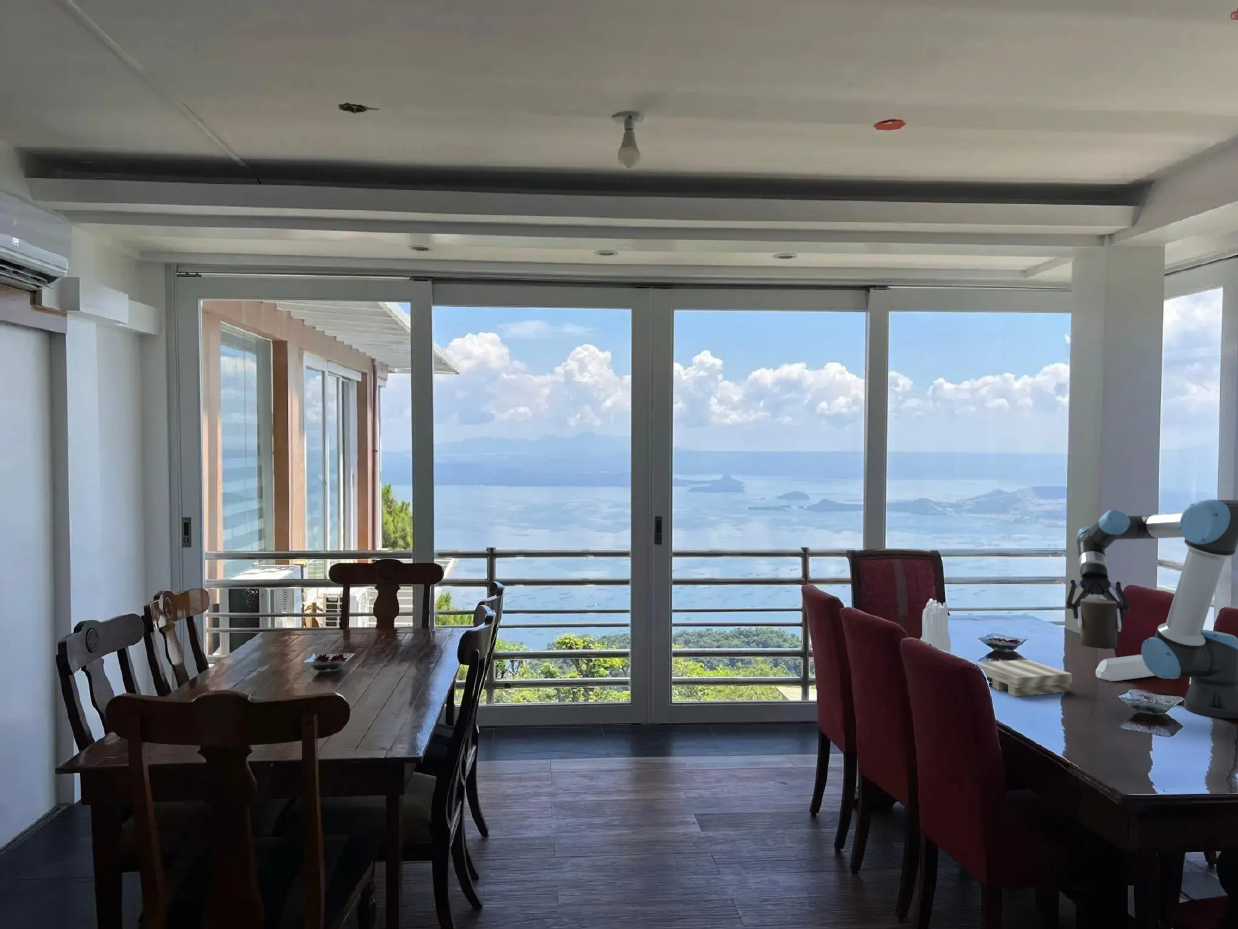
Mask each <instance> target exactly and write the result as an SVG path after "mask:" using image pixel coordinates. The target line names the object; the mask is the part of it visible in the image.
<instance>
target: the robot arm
mask: <svg viewBox="0 0 1238 929" xmlns="http://www.w3.org/2000/svg"><path fill="white" fill-rule="evenodd" d="M1076 537H1077V538H1076V546H1077V551H1078V552H1077V553H1078V554H1077V555H1078V562H1079V570H1080V571H1079V572H1080V574H1079V575H1080V580H1079V581H1078V580H1077V581H1075V580H1074V579H1071V580H1070V590H1069V593H1068V597H1067V600H1066V606H1065V608H1066V609H1067V610H1070V609H1071V610H1072V614H1073V619H1075V620H1077V624H1078V625H1077V626H1078V630H1081V629H1082V618H1081V599H1087V598H1088V596H1089V595H1090V596H1091V595H1098V596H1103V598H1105V600H1111V601H1116V602H1117V633H1121V631H1122V622H1124V621H1125V613H1129V612H1130V610H1131V605H1130V603H1129V601H1128V599H1127V598H1126V595H1125V593H1124V591H1123V590H1122V586H1121V585H1122V584H1121V582H1120V581H1116V583H1115V582H1111V581H1110V580H1109V575H1108V565H1107V559H1106V550H1107V549H1108V548H1109V546H1111V545H1112V544H1113V543H1114V542H1115V541H1119V540H1120V541H1121V540H1124V541H1125V540H1155V539H1156V540H1157V539H1169V538H1184V541H1183V542H1184V544H1185V545H1186V547H1187V548H1188V551H1187V553H1186V557H1185V560H1184V564H1183V566H1182V570H1181V572H1180V576H1179V579H1178V583H1177V586H1176V588H1175V589H1176V590H1175V592H1174V596H1173V599H1172V602H1171V605H1170V609H1169V611H1168V615H1167V618H1166V622H1164V623H1160V624H1159V625H1158V626H1157V628H1156V629H1157V630H1156V632H1155V635H1154V636H1151V637H1149V638H1146V639H1145V640H1144V641H1143V642H1142V645H1141V655H1142V658H1143V660H1144V662H1145V665H1146V666H1147V668H1148V669H1149V670H1150V671H1151V672H1152V673H1153V674H1154V675H1156V677H1157V678H1159V679H1160V678H1161V679H1169V680H1170V679H1172V680H1177V679H1183V678H1190V684H1189V685H1188V688H1187V691H1186V695H1185V696H1184V698H1183V707H1184V709H1185V710H1187V711H1189V712H1191V711H1192V713H1194V712H1195V714H1199V715H1202V716H1207V717H1211V718H1212V717H1213V718H1222V719H1238V637H1237V636H1235V635H1233V634H1230V633H1226V632H1220V631H1215V630H1209V629H1204V626H1205V623H1206V620H1207V617H1208V614H1209V611H1210V608H1211V604H1212V601H1213V598H1214V596H1215V592H1216V589H1217V587H1218V584H1219V580H1220V577H1221V575H1222V571H1223V567H1224V565H1225V561H1226V559H1227V558H1230V557H1232V556H1234V555H1235V554H1236V552H1237V551H1236V550H1237V548H1238V499H1205V500H1200V501H1195V502H1193V503H1191V504H1190V505H1188V506H1187V507H1186V508H1185V509H1184V510H1183V511H1182V512H1170V513H1156V514H1146V515H1145V514H1143V515H1127V514H1126V513H1124V512H1123V511H1119V510H1118V509H1110V510H1107V511H1106V512H1105V513H1104V514H1103V515H1101V516H1100V517H1099V518H1098V520H1097V521H1096V522H1095V523H1094V524H1093V525H1091V526H1089V525H1088V526H1084V527H1081V528H1080V529H1079V530H1078V531H1077V534H1076ZM1079 587H1081V588H1082V591H1081V593H1080V594H1079V595H1078V597H1077V598H1076V600H1075V601H1074V603H1073V600H1074V597H1075V595H1076V594H1075V593H1076V590H1077V589H1078V588H1079ZM1110 588H1112V590H1113V591H1114V592H1115V594H1116V596H1117V598H1118V599H1117V598H1116V597H1115V596H1114V595H1113V593H1112V592H1111V591H1110V590H1111V589H1110Z"/></svg>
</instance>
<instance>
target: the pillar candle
mask: <svg viewBox="0 0 1238 929" xmlns="http://www.w3.org/2000/svg"><path fill="white" fill-rule="evenodd" d="M1080 607H1081V618H1082V629H1080V634H1079V636H1080V638H1079V639H1080V641H1079V643H1080V645H1082V646H1083V647H1088V648H1091V649H1092V648H1095V649H1101V650H1102V649H1103V650H1111V649H1113V650H1114V649H1117V648H1118V629H1117V602H1116V601H1111V600H1107V599H1102V598H1099V596H1097V598H1085V599H1081V605H1080Z"/></svg>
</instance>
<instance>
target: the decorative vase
mask: <svg viewBox="0 0 1238 929" xmlns="http://www.w3.org/2000/svg"><path fill="white" fill-rule="evenodd" d="M948 610H949V609H948V603H947V602H945V601H944V602H943V603H941V602H939V601H938V600H937V599H935V600H934V599H933V598H930V599H928V601H927V603H926V605H925V608H924V609H923V610H922V616H921V619H922V620H921V623H922V624H921V625H922V635H921V637H920V638H919V639H920V640H922V641H924V642H926V643H927V644H931V645H932V646H934V647H936V648H938V649H941V650H944V651H947V652H950V653H951V654H952V651H951V650H952V649H951V648H952V646H951V645H952V643H951V642H952V640H951V637H950V634H949V615H948V614H949V612H948Z"/></svg>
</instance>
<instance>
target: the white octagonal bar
mask: <svg viewBox="0 0 1238 929" xmlns="http://www.w3.org/2000/svg"><path fill="white" fill-rule="evenodd" d="M1155 676H1156V675H1154V674H1153V673H1152V672H1151V671H1150V670H1149V669H1148V668H1147V666H1146V665H1145V662H1144V660H1143V658H1142V654H1135V655H1127V656H1120V657H1110V658H1109V657H1108V658H1103V660H1101V661H1100V662H1099V663H1098V666H1097V668H1096V669H1095V677H1097V678H1098V679H1100V678H1101V679H1100V680H1104V681H1107V680H1108V681H1107V682H1117V681H1123V680H1124V681H1125V680H1132V679H1139V678H1147V677H1155ZM1156 677H1157V676H1156Z"/></svg>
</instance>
